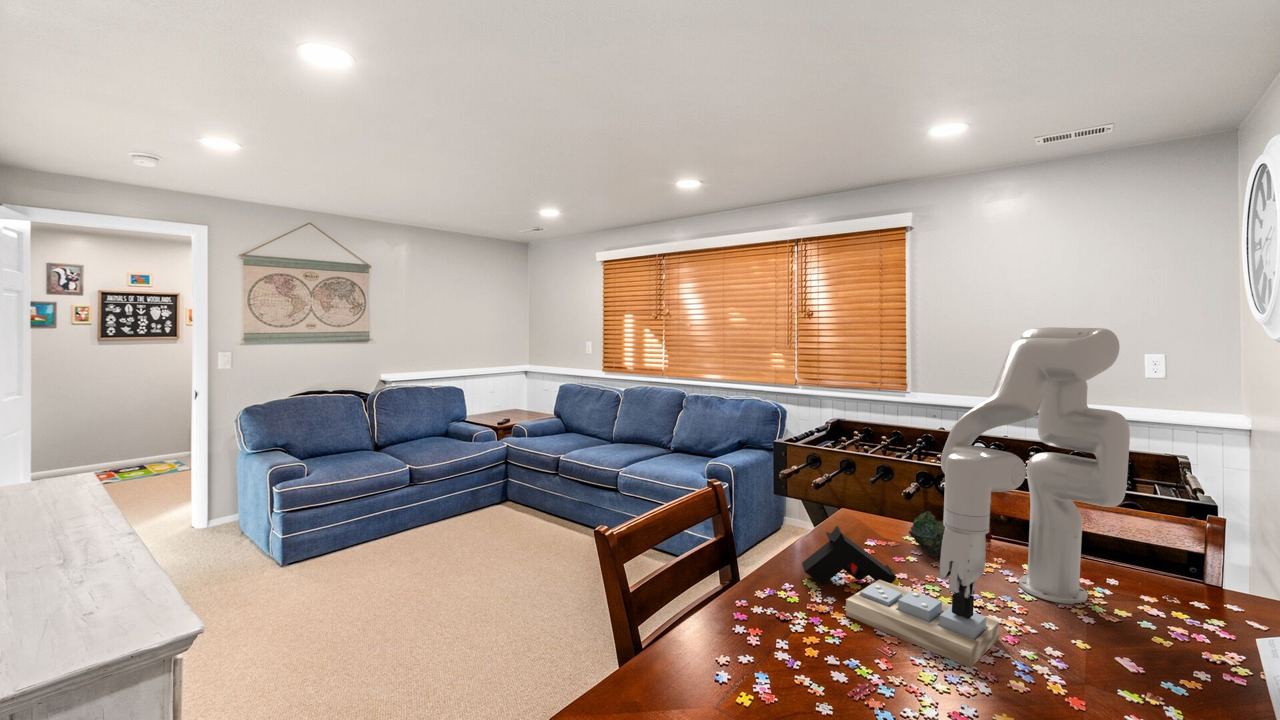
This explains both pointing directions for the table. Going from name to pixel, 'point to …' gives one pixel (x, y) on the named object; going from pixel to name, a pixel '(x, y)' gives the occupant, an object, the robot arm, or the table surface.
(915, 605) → the tile two
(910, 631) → the board
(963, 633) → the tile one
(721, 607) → the table surface
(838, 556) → the toy gun
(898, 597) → the tile three
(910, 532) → the rock
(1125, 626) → the table surface
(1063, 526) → the robot arm
